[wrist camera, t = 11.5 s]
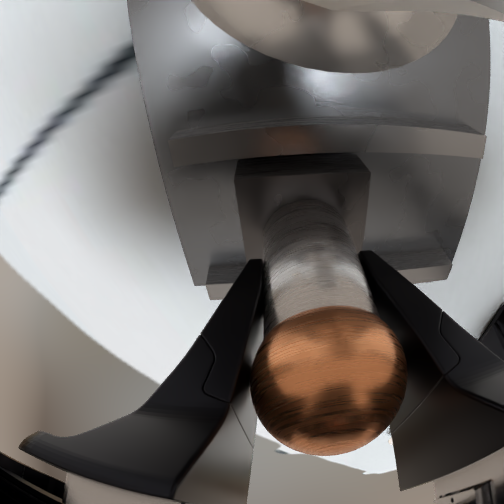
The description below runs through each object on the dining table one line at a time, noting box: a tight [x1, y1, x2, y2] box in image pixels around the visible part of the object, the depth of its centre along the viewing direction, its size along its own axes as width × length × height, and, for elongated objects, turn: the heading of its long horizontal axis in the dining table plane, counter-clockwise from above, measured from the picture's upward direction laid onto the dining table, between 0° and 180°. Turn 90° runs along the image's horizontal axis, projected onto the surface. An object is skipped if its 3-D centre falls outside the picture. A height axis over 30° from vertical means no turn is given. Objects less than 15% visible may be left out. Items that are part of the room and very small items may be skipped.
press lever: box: [234, 154, 408, 456], centre depth 8 cm, size 4×5×9 cm
